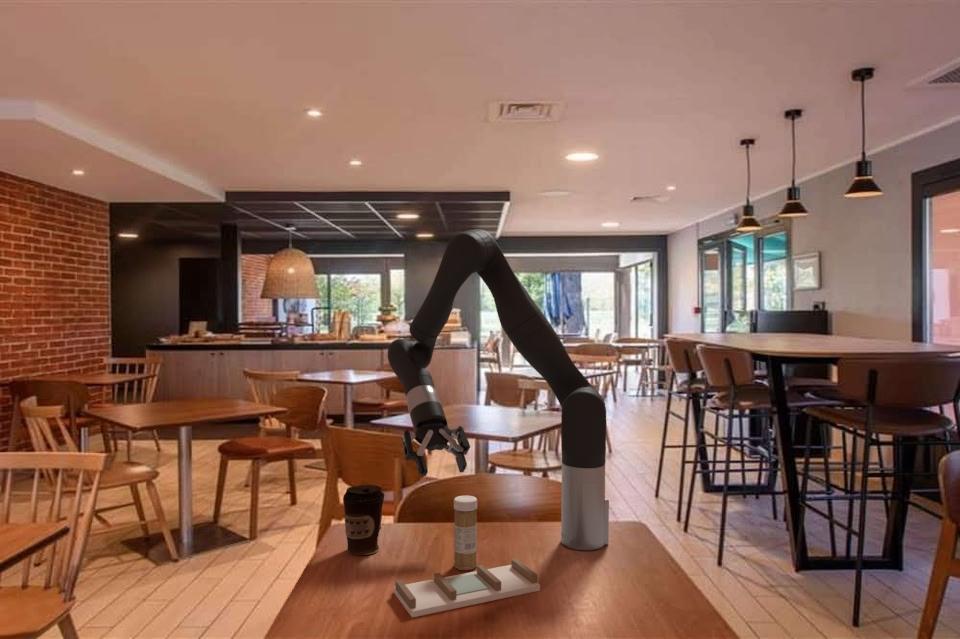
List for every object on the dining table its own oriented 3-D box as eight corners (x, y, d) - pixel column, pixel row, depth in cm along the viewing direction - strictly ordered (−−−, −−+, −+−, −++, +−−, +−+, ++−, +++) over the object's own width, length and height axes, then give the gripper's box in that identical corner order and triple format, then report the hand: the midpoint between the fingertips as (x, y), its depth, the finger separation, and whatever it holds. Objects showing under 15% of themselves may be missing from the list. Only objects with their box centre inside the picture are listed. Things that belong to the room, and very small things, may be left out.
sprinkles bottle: (474, 561, 126) (474, 493, 126) (479, 570, 122) (479, 500, 122) (451, 563, 125) (451, 495, 125) (455, 572, 121) (456, 502, 121)
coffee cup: (374, 560, 126) (374, 495, 126) (335, 557, 128) (335, 493, 128) (389, 544, 135) (389, 483, 134) (352, 541, 136) (352, 481, 136)
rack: (513, 569, 122) (513, 556, 122) (539, 590, 113) (539, 576, 113) (393, 592, 112) (393, 578, 112) (412, 617, 103) (412, 602, 103)
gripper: (399, 401, 138) (416, 466, 128) (459, 398, 144) (480, 459, 134) (391, 421, 143) (408, 485, 133) (450, 417, 149) (470, 478, 139)
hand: (444, 472), depth 133 cm, fingers open, 8 cm apart
